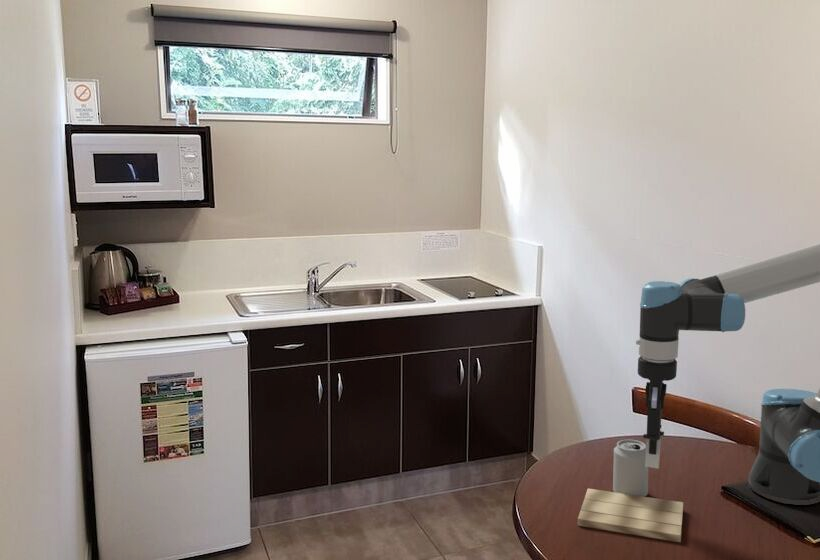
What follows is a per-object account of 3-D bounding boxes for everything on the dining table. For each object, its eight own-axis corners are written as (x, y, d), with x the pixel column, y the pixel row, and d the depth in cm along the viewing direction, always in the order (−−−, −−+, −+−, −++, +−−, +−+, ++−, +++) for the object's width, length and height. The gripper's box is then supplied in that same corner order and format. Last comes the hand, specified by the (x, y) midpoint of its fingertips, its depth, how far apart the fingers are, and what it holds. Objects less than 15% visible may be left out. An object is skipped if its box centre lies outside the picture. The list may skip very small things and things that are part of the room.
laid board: (681, 532, 147) (681, 525, 146) (680, 542, 143) (680, 535, 143) (580, 516, 154) (580, 509, 154) (577, 525, 151) (577, 518, 150)
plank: (683, 508, 155) (683, 502, 155) (681, 532, 147) (681, 525, 146) (587, 494, 163) (587, 488, 162) (580, 516, 154) (580, 509, 154)
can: (649, 503, 159) (651, 451, 157) (614, 501, 160) (615, 450, 158) (645, 487, 166) (647, 438, 164) (611, 485, 167) (612, 436, 165)
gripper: (640, 347, 155) (636, 451, 160) (635, 364, 144) (630, 476, 148) (678, 350, 153) (672, 456, 157) (676, 368, 141) (669, 482, 145)
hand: (652, 466), depth 152 cm, fingers closed
